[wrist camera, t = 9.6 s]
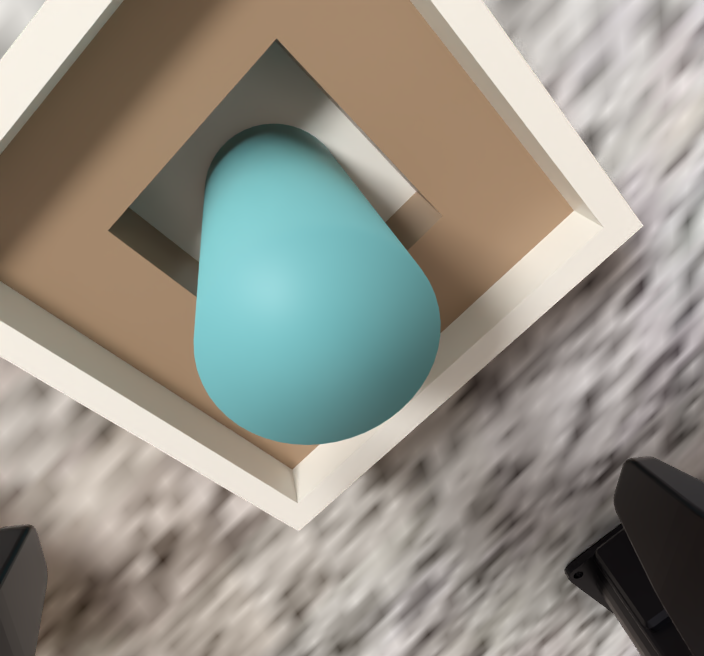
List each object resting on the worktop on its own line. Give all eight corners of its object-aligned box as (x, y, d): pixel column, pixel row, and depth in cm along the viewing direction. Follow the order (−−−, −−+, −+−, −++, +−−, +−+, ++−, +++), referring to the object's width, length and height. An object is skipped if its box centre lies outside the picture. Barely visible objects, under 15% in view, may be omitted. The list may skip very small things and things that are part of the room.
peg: (342, 256, 19) (431, 432, 11) (211, 263, 18) (206, 456, 10) (344, 122, 17) (450, 219, 9) (197, 124, 16) (179, 231, 9)
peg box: (551, 178, 20) (643, 225, 16) (283, 431, 23) (298, 531, 18) (255, -203, 14) (272, -295, 10) (-60, 198, 17) (-157, 264, 13)
